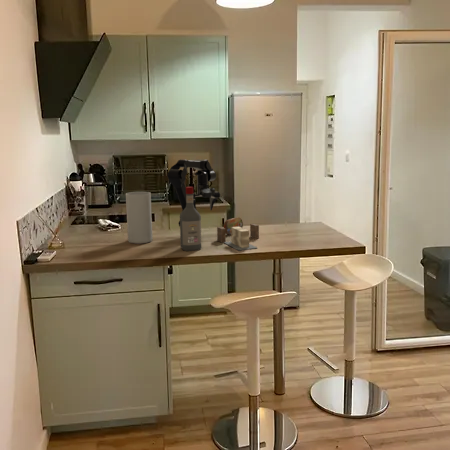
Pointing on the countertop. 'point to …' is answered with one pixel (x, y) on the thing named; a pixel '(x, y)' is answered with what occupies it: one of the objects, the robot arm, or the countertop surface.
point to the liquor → (190, 225)
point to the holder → (253, 232)
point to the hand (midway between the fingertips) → (203, 210)
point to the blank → (240, 237)
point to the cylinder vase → (139, 217)
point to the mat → (240, 247)
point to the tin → (232, 224)
